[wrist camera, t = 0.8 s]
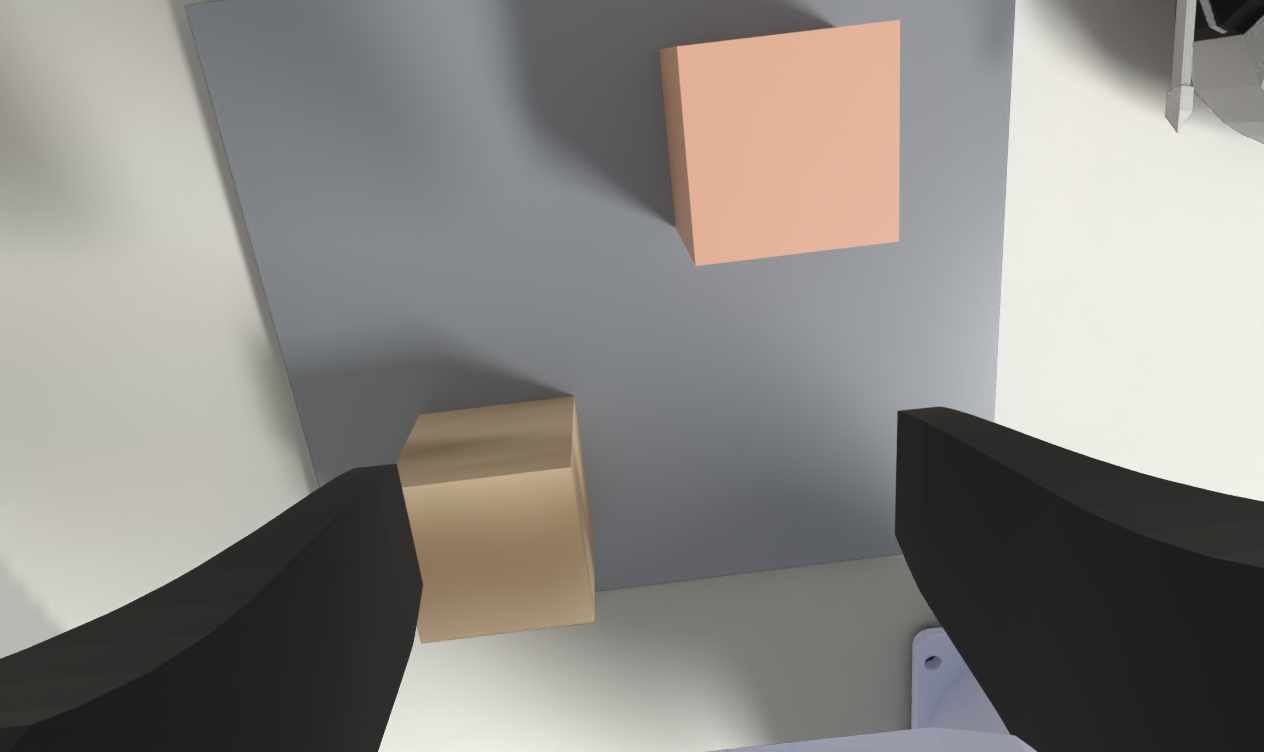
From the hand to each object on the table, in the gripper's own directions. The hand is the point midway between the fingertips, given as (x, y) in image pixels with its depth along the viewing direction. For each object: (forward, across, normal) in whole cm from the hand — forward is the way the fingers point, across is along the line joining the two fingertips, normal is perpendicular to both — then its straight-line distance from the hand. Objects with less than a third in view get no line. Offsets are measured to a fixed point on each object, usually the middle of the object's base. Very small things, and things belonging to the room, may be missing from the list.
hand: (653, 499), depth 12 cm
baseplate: (+10, 0, 0) cm, 10 cm away
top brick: (+9, +4, +4) cm, 11 cm away
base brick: (+9, -3, -4) cm, 11 cm away
